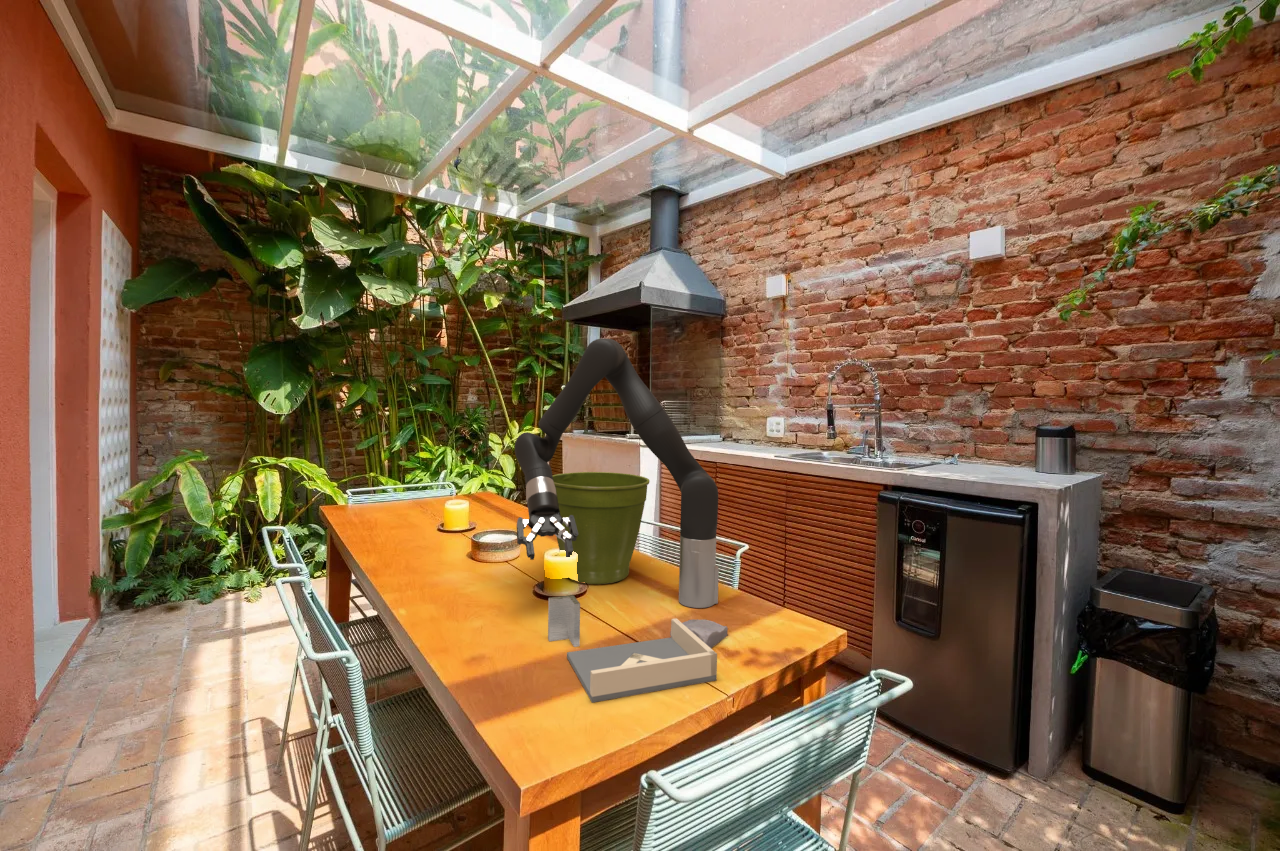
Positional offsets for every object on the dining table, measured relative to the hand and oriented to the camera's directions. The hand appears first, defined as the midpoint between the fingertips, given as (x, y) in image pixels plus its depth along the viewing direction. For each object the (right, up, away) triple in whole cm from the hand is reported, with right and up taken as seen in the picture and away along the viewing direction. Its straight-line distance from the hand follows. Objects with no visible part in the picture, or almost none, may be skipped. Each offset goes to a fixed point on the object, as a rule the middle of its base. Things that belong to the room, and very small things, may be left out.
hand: (551, 556), depth 132 cm
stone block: (+33, -17, -8) cm, 38 cm away
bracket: (+4, -16, -11) cm, 20 cm away
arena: (+20, -16, -22) cm, 34 cm away
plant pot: (+8, -14, +35) cm, 39 cm away
